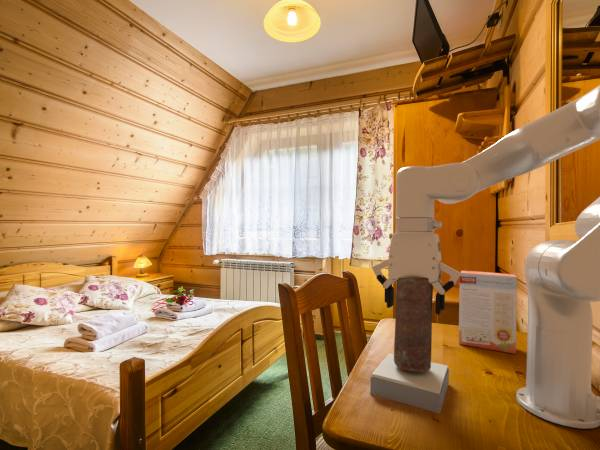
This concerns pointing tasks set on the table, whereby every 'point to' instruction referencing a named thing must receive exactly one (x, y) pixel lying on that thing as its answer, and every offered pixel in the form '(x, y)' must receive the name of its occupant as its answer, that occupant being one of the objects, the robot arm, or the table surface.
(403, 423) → the table surface
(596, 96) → the robot arm
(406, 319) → the candle
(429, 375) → the podium
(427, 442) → the table surface
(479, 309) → the cracker box
